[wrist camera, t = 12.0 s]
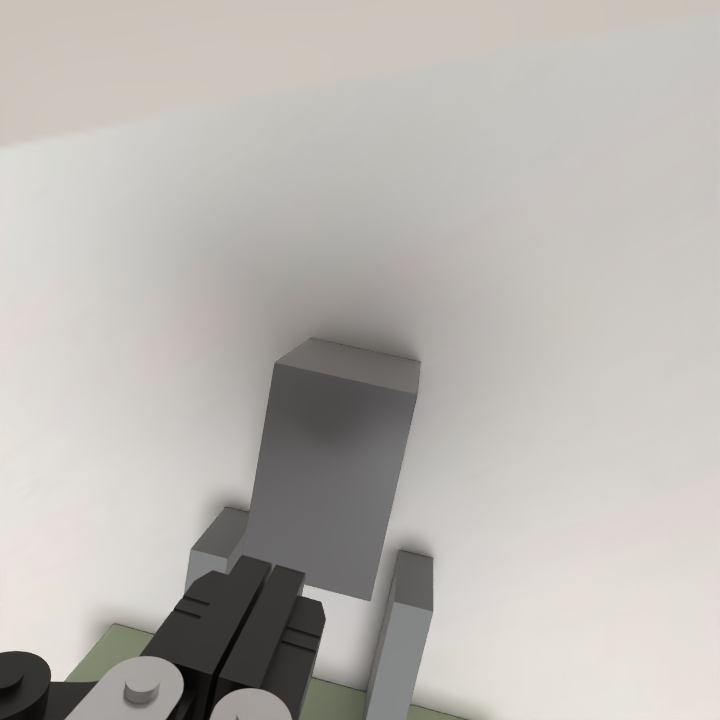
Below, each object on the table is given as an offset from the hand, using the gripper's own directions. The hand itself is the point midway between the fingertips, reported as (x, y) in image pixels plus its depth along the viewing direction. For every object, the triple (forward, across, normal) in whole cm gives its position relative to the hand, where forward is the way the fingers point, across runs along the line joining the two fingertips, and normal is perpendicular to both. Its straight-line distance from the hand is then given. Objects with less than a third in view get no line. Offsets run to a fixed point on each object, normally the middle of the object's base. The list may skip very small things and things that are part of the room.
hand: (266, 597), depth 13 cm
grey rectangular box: (+13, 0, 0) cm, 13 cm away
